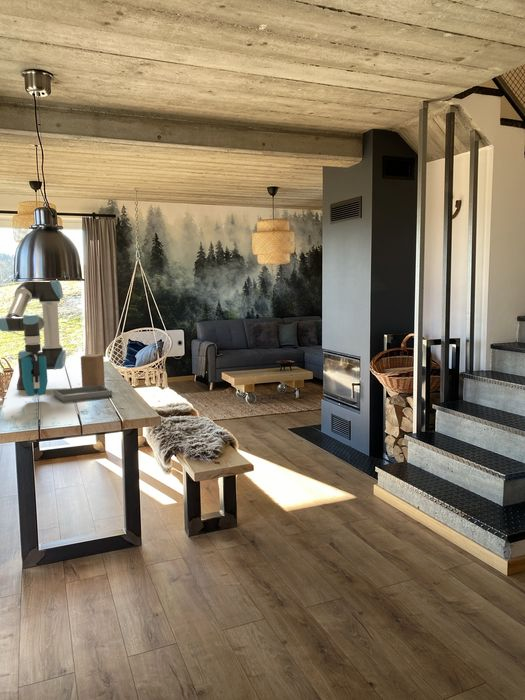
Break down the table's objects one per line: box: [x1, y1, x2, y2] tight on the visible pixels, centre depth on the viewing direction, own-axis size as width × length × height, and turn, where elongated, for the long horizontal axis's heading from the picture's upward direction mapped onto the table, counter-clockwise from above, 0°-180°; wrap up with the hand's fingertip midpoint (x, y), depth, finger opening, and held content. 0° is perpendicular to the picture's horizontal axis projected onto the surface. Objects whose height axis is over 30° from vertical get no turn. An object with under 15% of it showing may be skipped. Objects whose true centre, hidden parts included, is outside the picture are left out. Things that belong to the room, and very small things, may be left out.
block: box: [21, 356, 48, 397], centre depth 295 cm, size 12×5×20 cm, turn 115°
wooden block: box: [80, 353, 106, 387], centre depth 330 cm, size 10×10×20 cm
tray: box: [53, 385, 113, 404], centre depth 308 cm, size 20×26×4 cm
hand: (35, 387), depth 296 cm, fingers closed on block, 5 cm apart
